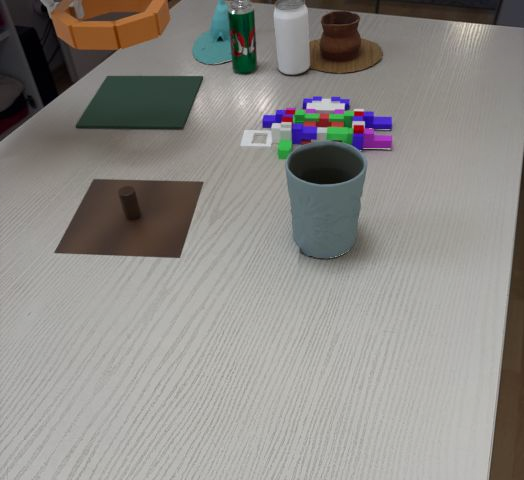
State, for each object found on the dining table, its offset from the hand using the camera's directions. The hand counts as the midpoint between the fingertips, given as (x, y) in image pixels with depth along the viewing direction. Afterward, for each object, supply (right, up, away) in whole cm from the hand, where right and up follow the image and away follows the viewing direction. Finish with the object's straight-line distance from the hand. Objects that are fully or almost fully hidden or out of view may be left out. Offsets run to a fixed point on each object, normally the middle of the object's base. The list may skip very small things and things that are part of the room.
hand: (67, 17), depth 82 cm
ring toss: (+10, -31, -1) cm, 32 cm away
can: (+36, +7, +28) cm, 46 cm away
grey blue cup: (+38, -35, -6) cm, 52 cm away
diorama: (+20, +17, +38) cm, 46 cm away
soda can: (+26, +7, +30) cm, 40 cm away
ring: (+7, -1, 0) cm, 7 cm away
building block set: (+39, -12, +13) cm, 43 cm away
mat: (+6, -2, +23) cm, 23 cm away
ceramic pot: (+46, +12, +32) cm, 57 cm away
